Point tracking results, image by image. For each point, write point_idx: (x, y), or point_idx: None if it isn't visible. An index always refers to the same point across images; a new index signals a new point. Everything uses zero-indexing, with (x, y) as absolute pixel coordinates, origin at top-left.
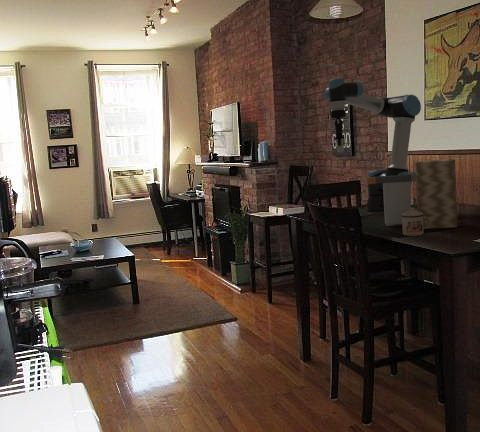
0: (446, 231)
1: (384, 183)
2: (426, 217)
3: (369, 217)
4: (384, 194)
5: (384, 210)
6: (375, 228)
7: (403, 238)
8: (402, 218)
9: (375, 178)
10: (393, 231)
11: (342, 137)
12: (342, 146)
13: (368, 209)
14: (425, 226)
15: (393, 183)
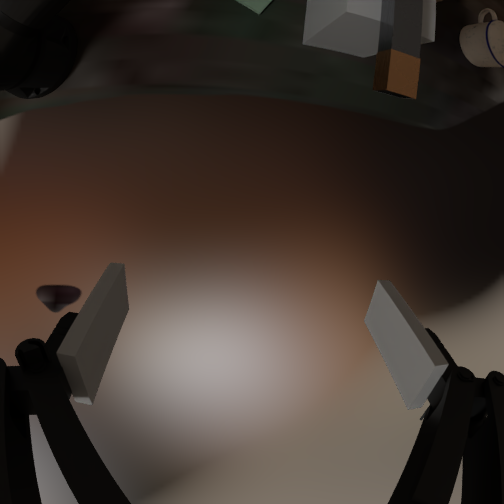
0: None
1: (425, 33)
2: (496, 16)
3: (176, 78)
4: None
5: (324, 39)
6: None
7: (499, 81)
8: (501, 66)
9: (416, 59)
10: (438, 66)
11: (55, 371)
12: (110, 301)
13: (54, 87)
14: (478, 18)
15: (435, 6)
